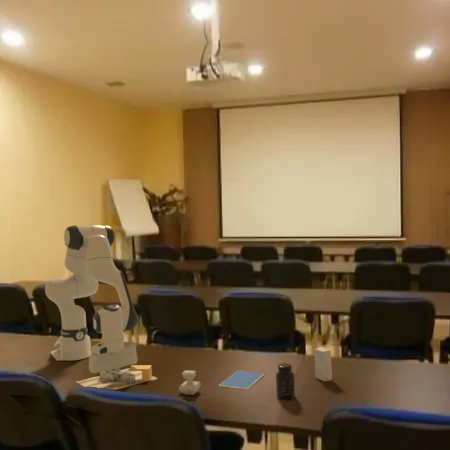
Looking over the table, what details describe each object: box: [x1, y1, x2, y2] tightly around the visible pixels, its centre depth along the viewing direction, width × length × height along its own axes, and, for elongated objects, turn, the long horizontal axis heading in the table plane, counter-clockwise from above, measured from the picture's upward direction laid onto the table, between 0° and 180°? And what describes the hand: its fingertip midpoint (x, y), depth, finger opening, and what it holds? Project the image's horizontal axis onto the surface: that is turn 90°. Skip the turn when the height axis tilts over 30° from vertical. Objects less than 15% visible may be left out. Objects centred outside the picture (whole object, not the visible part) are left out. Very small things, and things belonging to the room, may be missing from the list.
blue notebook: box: [218, 369, 266, 391], centre depth 220 cm, size 19×13×1 cm, turn 155°
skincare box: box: [313, 346, 333, 382], centre depth 218 cm, size 6×4×12 cm
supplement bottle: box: [275, 362, 296, 401], centre depth 200 cm, size 7×7×12 cm
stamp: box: [178, 370, 202, 396], centre depth 207 cm, size 9×7×8 cm
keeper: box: [127, 364, 153, 381], centre depth 224 cm, size 8×5×6 cm, turn 85°
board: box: [75, 367, 158, 391], centre depth 223 cm, size 20×26×1 cm
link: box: [99, 369, 135, 384], centre depth 222 cm, size 16×6×3 cm, turn 54°
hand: (114, 378), depth 220 cm, fingers closed
